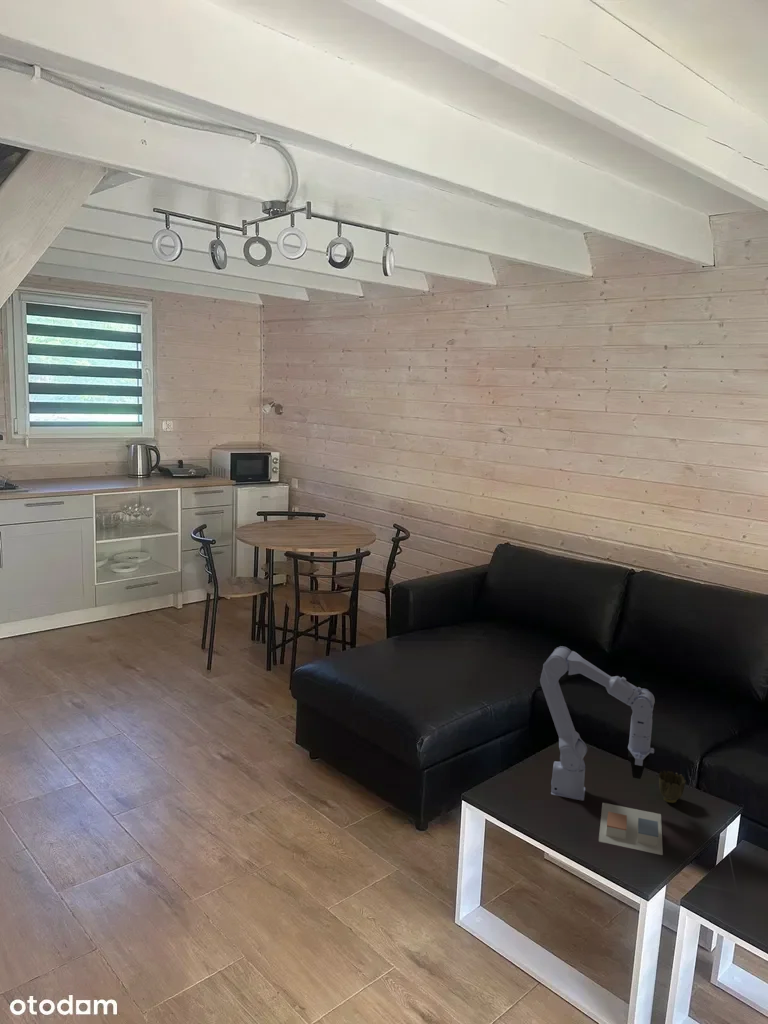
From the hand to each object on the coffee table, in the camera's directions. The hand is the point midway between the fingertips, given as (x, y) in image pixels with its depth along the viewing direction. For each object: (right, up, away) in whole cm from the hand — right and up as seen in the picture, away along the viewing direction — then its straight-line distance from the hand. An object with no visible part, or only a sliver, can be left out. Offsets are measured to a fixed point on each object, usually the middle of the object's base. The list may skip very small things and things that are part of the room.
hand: (636, 777), depth 208 cm
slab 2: (0, -9, -10) cm, 14 cm away
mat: (-5, -11, -8) cm, 15 cm away
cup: (+12, -10, +6) cm, 16 cm away
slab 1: (-8, -9, -7) cm, 14 cm away
